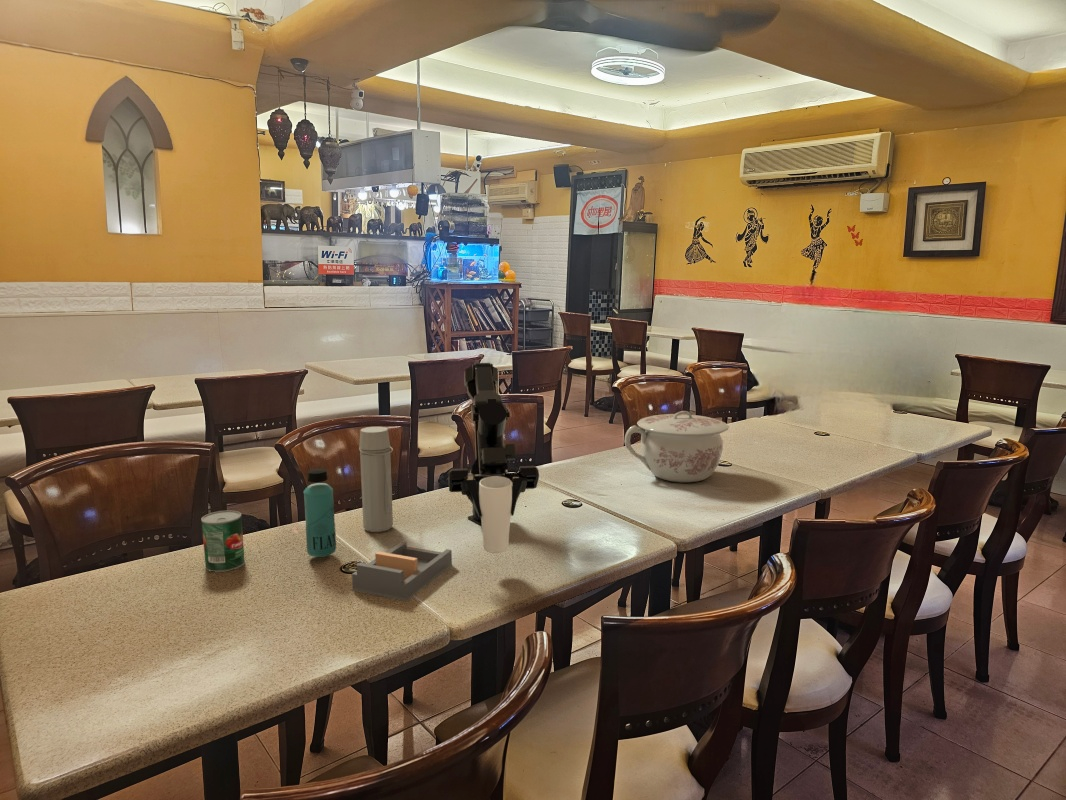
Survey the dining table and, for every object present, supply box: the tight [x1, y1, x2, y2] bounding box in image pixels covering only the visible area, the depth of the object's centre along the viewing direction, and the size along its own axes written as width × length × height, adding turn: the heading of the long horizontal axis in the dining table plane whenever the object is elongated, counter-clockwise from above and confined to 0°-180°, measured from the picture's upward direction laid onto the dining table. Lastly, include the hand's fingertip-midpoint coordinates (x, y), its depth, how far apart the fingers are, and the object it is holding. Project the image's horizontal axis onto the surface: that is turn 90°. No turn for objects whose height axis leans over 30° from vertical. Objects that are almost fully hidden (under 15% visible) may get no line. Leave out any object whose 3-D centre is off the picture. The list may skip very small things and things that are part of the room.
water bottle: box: [358, 426, 394, 533], centre depth 172 cm, size 9×8×25 cm
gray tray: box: [351, 541, 453, 602], centre depth 147 cm, size 18×12×6 cm
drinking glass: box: [479, 476, 512, 554], centre depth 147 cm, size 7×7×15 cm
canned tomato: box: [200, 510, 246, 573], centre depth 153 cm, size 8×8×11 cm
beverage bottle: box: [303, 468, 337, 558], centre depth 156 cm, size 6×7×20 cm
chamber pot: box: [624, 410, 730, 484], centre depth 217 cm, size 28×28×21 cm
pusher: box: [374, 551, 418, 580], centre depth 144 cm, size 1×9×5 cm, turn 68°
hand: (496, 515), depth 145 cm, fingers closed on drinking glass, 6 cm apart
